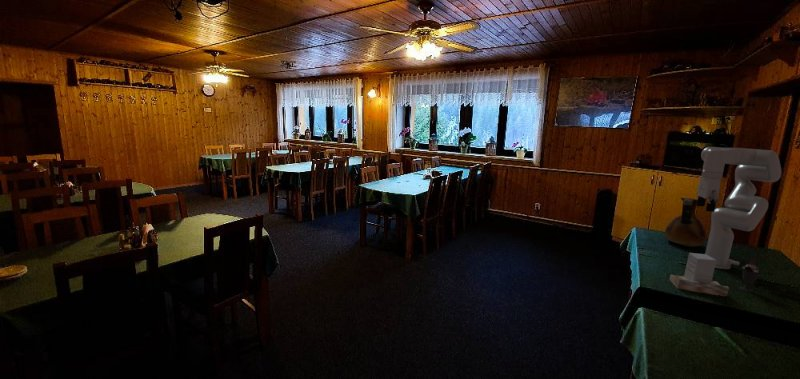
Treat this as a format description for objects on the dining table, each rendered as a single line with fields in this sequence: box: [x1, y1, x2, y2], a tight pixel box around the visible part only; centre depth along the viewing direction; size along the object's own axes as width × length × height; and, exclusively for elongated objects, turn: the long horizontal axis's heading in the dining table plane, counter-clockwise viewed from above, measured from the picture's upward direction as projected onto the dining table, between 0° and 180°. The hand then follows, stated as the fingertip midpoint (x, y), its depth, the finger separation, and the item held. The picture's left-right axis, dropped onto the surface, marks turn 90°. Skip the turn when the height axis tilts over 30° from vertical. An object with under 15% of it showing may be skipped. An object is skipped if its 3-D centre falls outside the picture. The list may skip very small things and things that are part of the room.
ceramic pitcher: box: [664, 197, 707, 248], centre depth 212 cm, size 20×20×30 cm
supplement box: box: [683, 252, 716, 284], centre depth 158 cm, size 7×7×13 cm
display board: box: [669, 274, 730, 297], centre depth 158 cm, size 18×10×4 cm, turn 69°
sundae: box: [738, 258, 762, 293], centre depth 156 cm, size 7×7×15 cm
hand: (704, 208), depth 168 cm, fingers open, 9 cm apart
